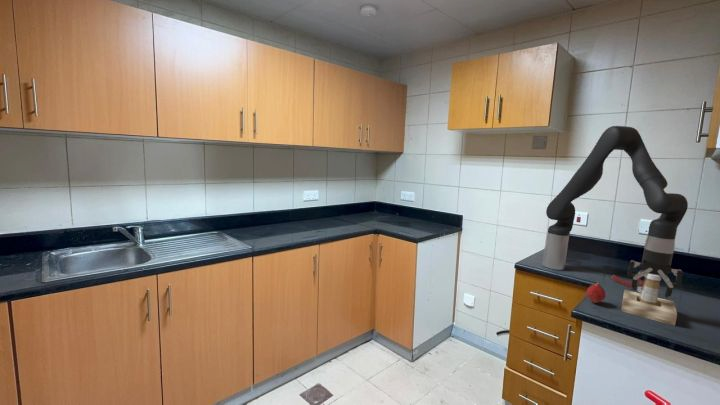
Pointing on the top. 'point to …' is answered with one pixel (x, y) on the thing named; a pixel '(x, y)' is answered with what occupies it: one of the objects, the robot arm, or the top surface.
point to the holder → (649, 308)
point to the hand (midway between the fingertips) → (650, 292)
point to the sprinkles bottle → (650, 289)
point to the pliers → (628, 283)
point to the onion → (596, 293)
